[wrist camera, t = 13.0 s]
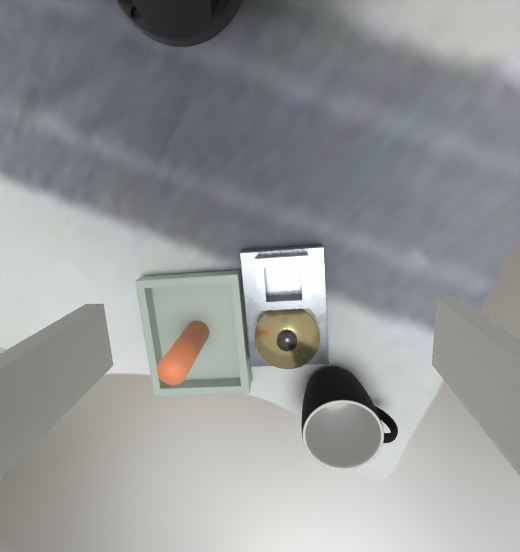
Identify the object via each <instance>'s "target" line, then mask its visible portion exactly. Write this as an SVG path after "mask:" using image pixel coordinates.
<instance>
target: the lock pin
mask: <svg viewBox="0 0 520 552" xmlns="http://www.w3.org/2000/svg"><path fill="white" fill-rule="evenodd" d="M208 337H209V328H208V327H207V325H206V324H205V323H203V322H201V321H193V322H191V323H189V324H188V326H187V327H186V328H185V330H184V331H183V332H182V334H181V335H180V336H179V337H178V339H177V340H176V341H175V343H174V344H173V345H172V347H171V348H170V349H169V351H168V352H167V353H166V354H165V356H164V357H163V358H162V360H161V361H160V362H159V364H158V366H157V374H158V376H159V378H160V379H161V380H162V381H163V382H164V383H166V384H168V385H178V384H180V383H182V382H183V381H184V380H185V378H186V376H187V375H188V373H189V371H190V369H191V368H192V366H193V364H194V362H195V360H196V359H197V357H198V355H199V353H200V351H201V350H202V348H203V346H204V344H205V342H206V341H207V339H208Z"/></svg>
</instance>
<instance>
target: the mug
mask: <svg viewBox="0 0 520 552" xmlns="http://www.w3.org/2000/svg"><path fill="white" fill-rule="evenodd" d="M381 420H382V421H383V422H384V423H385V424H386V425H387V426H388V427H389V429H390V431H391V433H384V430H383V425H382V422H381ZM397 434H398V428H397V425H396V423H395V422H394V420H393V419H392V418H391V417H390V416H389V415H388V414H387V413H385V412H384V411H383V410H381V409H379V408H378V407H376V406H374V404H373V403H372V401H371V399H370V397H369V395H368V394H367V392H366V391H365V389H364V388H363V386H362V385H361V383H360V382H359V381H358V380H357V379H356V378H355V377H354V376H353V375H352V374H351V373H349V372H348V371H346V370H344V369H341V368H335V367H330V368H325V369H322V370H320V371H319V372H317V373H316V374H315V375H314V376H313V377H312V378H311V379H310V381H309V383H308V385H307V388H306V391H305V395H304V400H303V409H302V438H303V442H304V446H305V448H306V450H307V452H308V453H309V454H310V456H311V457H312V458H313V459H314V460H315V461H317V462H318V463H320V464H321V465H323V466H326V467H328V468H331V469H335V470H352V469H357V468H360V467H362V466H364V465H366V464H368V463H369V462H371V461H372V460H373V459H374V458H375V457H376V456H377V454H378V453H379V452H380V450H381V448H382V445H383V443H389V442H392V441H393V440H395V438H396V437H397Z"/></svg>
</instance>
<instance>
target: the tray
mask: <svg viewBox="0 0 520 552" xmlns="http://www.w3.org/2000/svg"><path fill="white" fill-rule="evenodd" d="M135 282H136V288H137V294H138V300H139V306H140V313H141V319H142V325H143V331H144V337H145V343H146V349H147V355H148V361H149V368H150V374H151V380H152V386H153V392H154V396H158V395H159V396H162V395H193V394H228V393H249V392H250V387H251V382H252V379H251V369H250V358H249V348H248V337H247V327H246V317H245V306H244V296H243V285H242V275H241V269H240V270H225V271H210V272H194V273H179V274H163V275H148V276H143V277H142V278H140V279H138V280H136V281H135ZM193 321H201V322H203V323H205V324H206V325H207V327H208V328H209V337H208V339H207V341H206V342H205V344H204V346H203V348H202V350H201V351H200V353H199V355H198V357H197V359H196V360H195V362H194V364H193V366H192V368H191V369H190V371H189V373H188V375H187V376H186V378H185V380H184V381H183V382H182V383H180V384H178V385H168V384H166V383H164V382H163V381H162V380H161V379H160V378H159V376H158V374H157V366H158V364H159V362H160V361H161V360H162V358H163V357H164V356H165V354H166V353H167V352H168V351H169V349H170V348H171V347H172V345H173V344H174V343H175V341H176V340H177V339H178V337H179V336H180V335H181V334H182V332H183V331H184V330H185V328H186V327H187V326H188V324H189V323H191V322H193Z"/></svg>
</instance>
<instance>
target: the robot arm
mask: <svg viewBox="0 0 520 552" xmlns="http://www.w3.org/2000/svg"><path fill="white" fill-rule="evenodd" d="M117 2H118V4H119V5H120V7H121V8H122V10H123V11H124V12H125V14H126V15H127V16H128V17H129V18H130V19H131V20H132V22H133V23H134V24H135V25H136V26H137V27H138V28H139V29H140V30H141V31H142V32H144V33H145V34H146V35H148V36H149V37H151V38H153V39H155V40H157V41H159V42H161V43H164V44H168V45H173V46H190V45H195V44H199V43H202V42H204V41H206V40H208V39H210V38H212V37H213V36H215V35H216V34H218V33H219V32H220V31H221V30H222V29H224V28H225V27H226V25H227V24H228V23H229V22H230V21H231V20H232V18H233V17H234V15H235V14H236V12H237V10H238V8H239V6H240V4H241V2H242V0H117ZM432 365H433V366H434V368H435V369H436V370H437V371H438V373H439V374H440V375H441V376H442V378H443V379H444V380H445V381H446V383H447V384H448V385H449V387H450V388H451V389H452V390H453V392H454V393H455V394H456V395H457V397H458V398H459V399H460V401H461V402H462V403H463V404H464V406H465V407H466V408H467V409H468V411H469V412H470V413H471V414H472V416H473V417H474V418H475V420H476V421H477V422H478V423H479V425H480V426H481V427H482V428H483V430H484V431H485V432H486V433H487V435H488V436H489V437H490V439H491V440H492V441H493V442H494V443H495V445H496V446H497V447H498V449H499V450H500V451H501V453H503V455H504V456H505V458H506V459H507V460H508V461H509V463H510V464H511V465H512V466H513V468H514V469H515V470H516V471H517V473H518V474H519V475H520V338H519V337H517V336H516V335H514V334H513V333H511V332H510V331H508V330H506V329H505V328H504V327H502V326H501V325H499V324H498V323H496V322H495V321H493V320H492V319H490V318H489V317H487V316H486V315H484V314H483V313H481V312H480V311H478V310H477V309H475V308H474V307H472V306H471V305H469V304H468V303H466V302H465V301H463V300H462V299H460V298H459V297H446V298H437V305H436V318H435V331H434V345H433V358H432ZM112 366H113V360H112V354H111V347H110V341H109V335H108V329H107V323H106V316H105V310H104V304H85V305H84V306H82V307H80V308H78V309H77V310H75V311H73V312H72V313H70V314H68V315H66V316H65V317H63V318H61V319H59V320H58V321H56V322H54V323H53V324H51V325H49V326H47V327H46V328H44V329H42V330H41V331H39V332H37V333H35V334H34V335H32V336H30V337H29V338H27V339H25V340H23V341H22V342H20V343H18V344H17V345H15V346H13V347H11V348H10V349H8V350H6V351H5V352H3V353H1V354H0V480H1V479H2V478H3V477H4V476H5V475H6V474H7V472H8V471H10V469H11V468H12V467H14V465H15V464H16V463H17V462H18V461H19V460H20V459H21V458H22V457H23V456H24V455H25V454H26V453H27V452H28V451H29V450H30V449H31V448H32V447H33V446H34V445H35V444H36V443H37V442H38V441H39V440H40V439H41V438H42V437H43V436H44V435H45V434H46V433H47V432H48V431H49V430H50V429H51V428H52V427H53V426H54V425H55V424H56V423H57V422H58V421H59V420H60V419H61V418H62V416H64V415H65V414H66V413H67V411H68V410H70V409H71V408H72V407H73V406H74V404H76V403H77V401H78V400H79V399H80V398H81V397H82V396H83V395H84V394H85V393H86V392H87V391H88V390H89V389H90V388H91V387H92V386H93V385H94V384H95V383H96V382H97V381H98V380H99V379H100V378H101V377H102V376H103V375H104V374H105V373H106V372H107V371H108V370H109V369H110V368H111V367H112Z"/></svg>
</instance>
